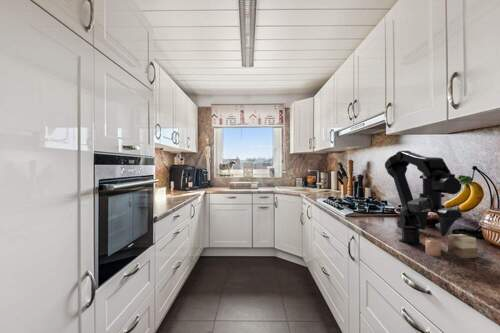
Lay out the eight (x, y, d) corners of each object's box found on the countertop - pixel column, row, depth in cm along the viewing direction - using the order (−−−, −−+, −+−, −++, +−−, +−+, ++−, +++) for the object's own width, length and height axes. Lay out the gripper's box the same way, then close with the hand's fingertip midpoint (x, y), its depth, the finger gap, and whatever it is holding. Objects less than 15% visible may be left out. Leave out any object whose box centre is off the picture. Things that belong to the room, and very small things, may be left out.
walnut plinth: (447, 252, 96) (447, 243, 96) (462, 252, 96) (461, 243, 96) (462, 258, 90) (462, 248, 90) (477, 257, 90) (477, 248, 90)
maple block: (448, 243, 96) (448, 234, 96) (462, 243, 96) (462, 234, 96) (461, 248, 90) (461, 238, 90) (476, 248, 90) (476, 238, 90)
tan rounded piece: (422, 252, 96) (422, 239, 96) (433, 251, 97) (433, 238, 97) (432, 256, 92) (432, 243, 92) (443, 256, 92) (443, 242, 92)
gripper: (395, 189, 102) (395, 227, 103) (432, 194, 84) (433, 241, 84) (420, 188, 104) (420, 226, 104) (463, 193, 85) (463, 239, 85)
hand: (432, 232), depth 94 cm, fingers open, 9 cm apart
